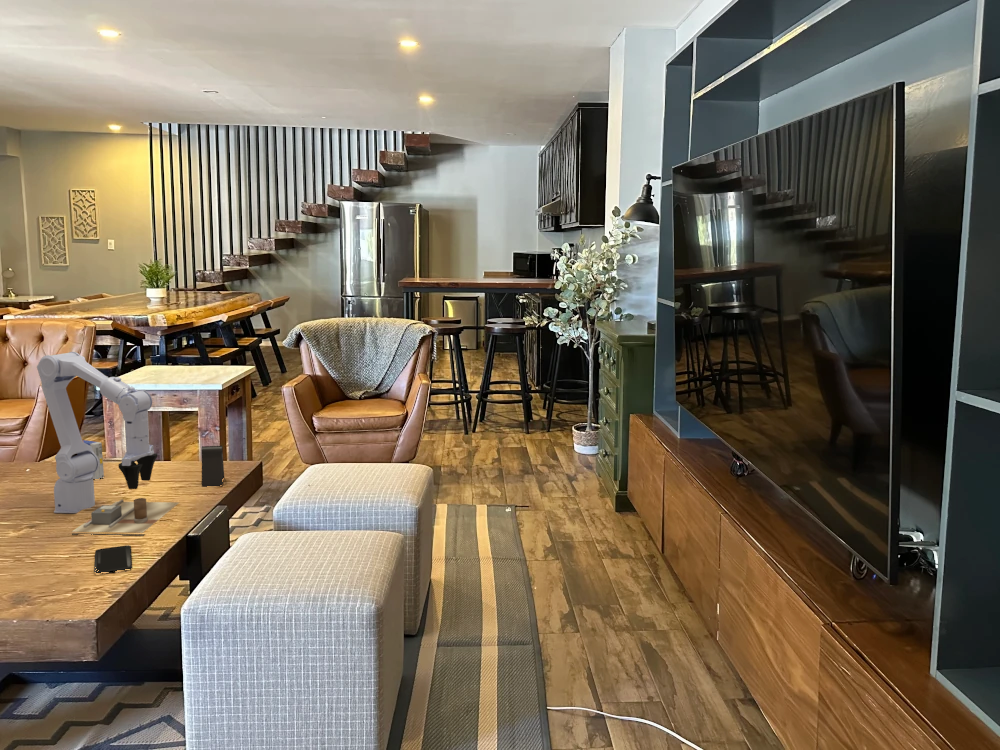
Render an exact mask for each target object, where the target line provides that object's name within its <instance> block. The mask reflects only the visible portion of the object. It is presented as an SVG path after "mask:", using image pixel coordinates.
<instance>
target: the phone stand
mask: <svg viewBox="0 0 1000 750" xmlns="http://www.w3.org/2000/svg"><path fill="white" fill-rule="evenodd" d="M223 449H224V448H223V445H207V446H205V445H204V446H201V450H200V451H201V488H208V487H207V486H220V485H222V484H224V482H222V479H223V478H224V479H225V467H224V465H225V464H224V456H223V455H224V453H223V451H224V450H223Z"/></svg>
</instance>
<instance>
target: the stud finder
mask: <svg viewBox="0 0 1000 750" xmlns="http://www.w3.org/2000/svg"><path fill="white" fill-rule="evenodd" d="M90 514H91V515H90V517H91V518H92V524H111V523H113V522H114V521H116V520H117V519H118V518H120V517H121V516H122V511H121V506H110V505H101V506H99V507H98V508H97V509H95V510H93V511H92V512H90Z"/></svg>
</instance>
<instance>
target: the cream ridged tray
mask: <svg viewBox="0 0 1000 750" xmlns="http://www.w3.org/2000/svg"><path fill="white" fill-rule="evenodd" d="M179 504H180V502H177V501H176V502H174V501H173V502H171V501H169V502H166V501H163V502H162V501H146V507H147V518H148V521H147V522H146V523H141V524H136V523H134V517H135V516H134V501H124V499H120V500H119V501H115V502H113V503H112V504H110V505H109V506H121V511H122V516H121V517H120V518H118V519H117V520H116V521H114V522H113V523H111V524H92V517H91V518H89V519H88V520H87V521H85V522H84V523H82V524H81V525H79V526H78V527H76V528H75V529H73V530H72V531H71V536H79V535H78V534H91V535H92V534H93V535H123V536H122V537H144V536H145V535H146V534H145V533H144V532H145V531H146V530H148V529H150V528H151V527H152V526H153V525H154V524H156V523H157V522H158V521H159V520H160V519H161V518H163V517H164V516H165V515H166V514H168V513H169V512H170V511H171V510H172V509H174V508H175V507H177V506H178V505H179ZM143 533H144V534H143Z"/></svg>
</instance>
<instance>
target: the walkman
mask: <svg viewBox="0 0 1000 750" xmlns="http://www.w3.org/2000/svg"><path fill="white" fill-rule="evenodd" d="M82 441H83V442H84V443H86V444H88V445H90V446H91V447H92V450H93V452H94V453H95V455H96V456H97V457H98V460H99V468H98V470H97V471H96V472H95V476H93V479H99V478H103V477H104V478H105V471H104V458H103V457H104V456H103V446H102V444H103V443H102V442H99V441H93V440H85V439H82ZM104 478H103V479H104ZM99 480H100V479H99Z"/></svg>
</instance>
